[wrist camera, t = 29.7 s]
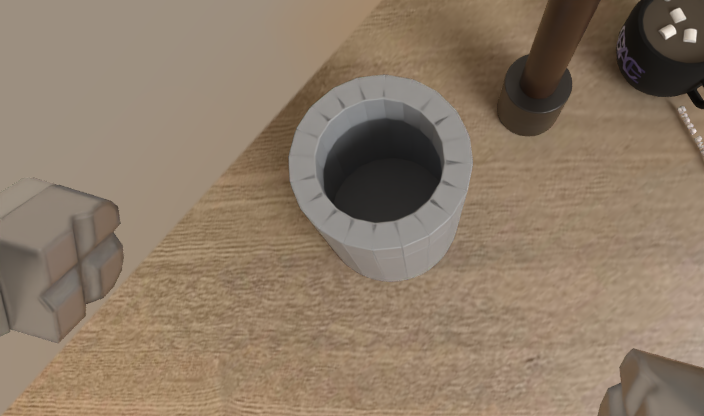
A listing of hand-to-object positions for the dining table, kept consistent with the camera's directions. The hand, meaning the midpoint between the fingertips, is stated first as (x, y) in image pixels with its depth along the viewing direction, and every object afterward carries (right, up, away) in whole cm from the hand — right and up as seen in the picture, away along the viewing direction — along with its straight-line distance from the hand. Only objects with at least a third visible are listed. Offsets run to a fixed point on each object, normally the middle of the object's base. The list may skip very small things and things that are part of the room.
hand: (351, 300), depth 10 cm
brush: (+12, +8, +31) cm, 35 cm away
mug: (+21, +8, +31) cm, 38 cm away
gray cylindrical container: (+3, +1, +31) cm, 31 cm away
